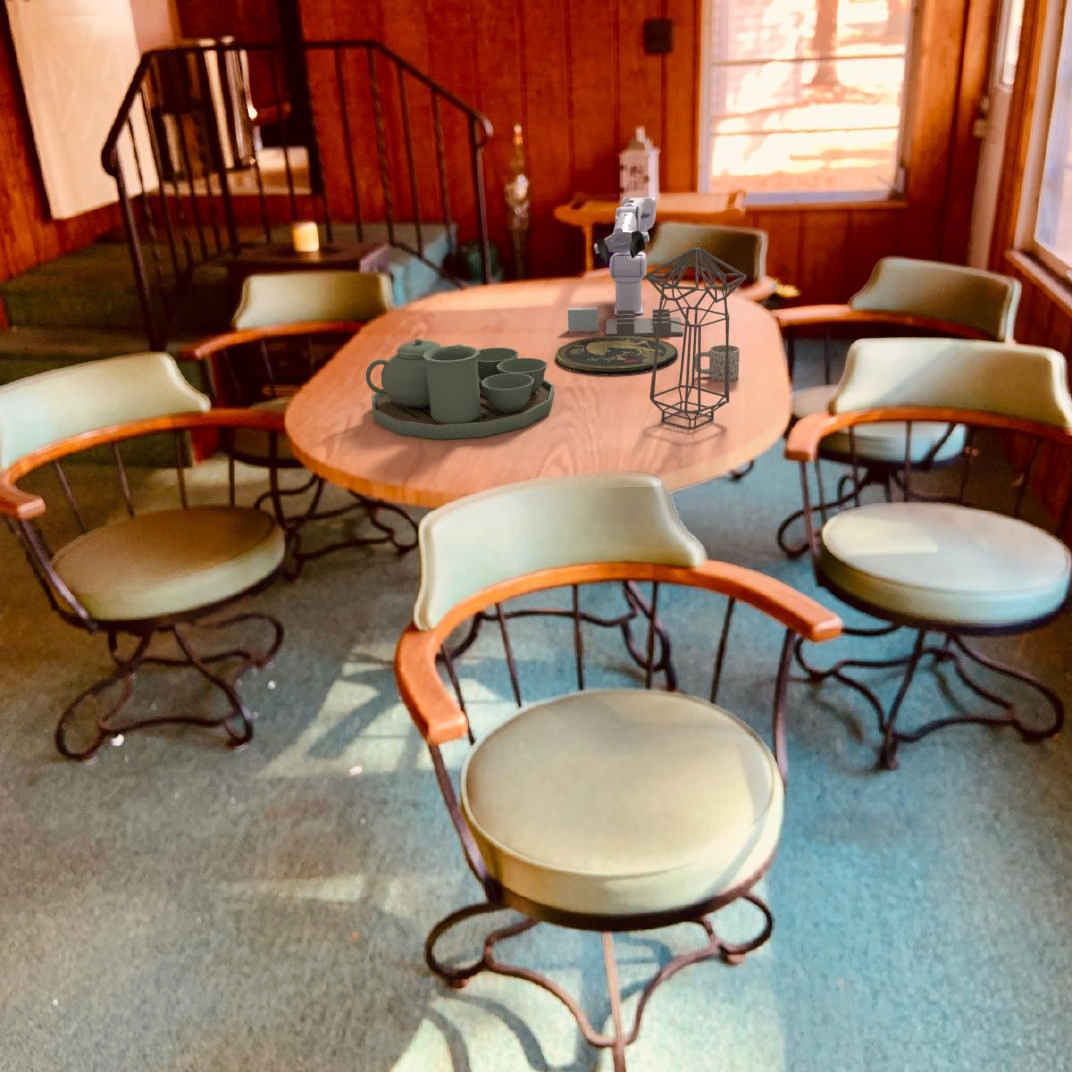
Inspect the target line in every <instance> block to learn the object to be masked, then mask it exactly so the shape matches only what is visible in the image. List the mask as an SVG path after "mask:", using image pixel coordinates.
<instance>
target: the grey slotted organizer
mask: <svg viewBox="0 0 1072 1072" xmlns="http://www.w3.org/2000/svg"><path fill="white" fill-rule="evenodd" d="M658 311H659V308H654V309H652V317H636V318H635V314H634V310H617V315H616V316H617V318H607V319H606V321H605V335H604V336H639V337H644V336H652V337H656V333H657V320H658V319H657V317H658ZM661 311H662V308H661ZM668 311H670V308H664V310H663V312H662V313H665V312H668ZM662 318H664V319H668V320H672V321H676V322H679V323H682V319H681V317H680V316H678V317H677V316H674V317H673V316H671V313H668V314H665V315H662ZM675 335H679V337H680V336H681V335H683V336H684V329H683V325H680V324H676V323H672V322H668V321H664V320H661V328H660V337H676V336H675Z"/></svg>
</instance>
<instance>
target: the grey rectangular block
mask: <svg viewBox="0 0 1072 1072" xmlns="http://www.w3.org/2000/svg"><path fill="white" fill-rule="evenodd" d="M567 320H568V321H567V323H568V325H567V326H568V327H567V328H568V329H567V330H568V331H569V332H568V331H567V332H568V333H572V332H571V331H597V332H599V331H598V330H600V328H599V327H600V326H599V325H600V324H599V323H600V322H599V307H568V308H567Z"/></svg>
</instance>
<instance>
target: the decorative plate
mask: <svg viewBox="0 0 1072 1072" xmlns="http://www.w3.org/2000/svg"><path fill="white" fill-rule="evenodd" d="M655 346H656V338H653V337H639V336H605V335H604V336H595V337H590V338H589V337H588V338H584V339H579V340H575V341H572V342H569V343H567V344H565V345H562V346H561V347H560V348H558V350H557V351H556V353H555V362H556V361H557V362H556V363H557V364H558V365H559V366H560V367H562V368H564V369H567V370H569V369H571V370H570V371H572V370H575V371H574V372H576V371H579V372H578V373H581V372H583V373H582V374H588V373H589V375H590V374H591V375H599V374H608V375H607V376H614V375H613V374H626V375H632V374H631V373H636V374H643V373H647V372H646V371H649V372H652V371H651V370H653V365H654V356H655ZM678 357H679V352H678V349H677V347H676V346H674V345H673V344H672V343H670V342H668V341H665V340H662V339H659V345H658V355H657V368H656V369H657V370H660V368H661V369H663V368H666V367H668V366H670V365H671V363H672V364H673V363H674V362H676V360H677V359H678ZM669 364H670V365H669ZM665 366H666V367H665ZM642 372H643V373H642ZM611 374H612V375H611Z"/></svg>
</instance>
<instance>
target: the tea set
mask: <svg viewBox="0 0 1072 1072" xmlns="http://www.w3.org/2000/svg"><path fill="white" fill-rule="evenodd" d="M519 354H520V353H519V351H517V350H516V349H514V348H510V347H509V348H508V347H488V348H481V349H478V348H476V347H473V346H469V345H464V344H461V343H459V344H453V345H445V346H442V345H441V344H440V343H438V342H435V341H433V340H422V339H421V338H416V339H415V340H413V341H408V342H406V343H402V344H401V345H400V346H398V349H397V350H396V354H394V355H393V356H391V357H390V359H388V360H387V359H383V358H380V359H375V360H373V361H372V362H371V363H370V364H369V365H368V367H367V368H366V372H365V380H366V384H367V385H368V387H369V389H371V390H372V391H373V392H374V394H372V395H371V405H372V407H371V408H372V417H373V420H374V422H375V423H376V424H378V425H379V426H381V427H383V428H386V430H387V429H388V430H389V431H391V432H393V433H395V434H398V435H401V436H409V437H415V438H416V437H417V438H424V439H432V440H454V439H456V440H457V439H471V438H472V439H473V438H485V437H490V436H495V435H498V434H501V433H506V432H507V433H508V432H511V431H514V430H518V429H523V428H526V427H528V426H530V425H532V424H533V423H534V422H536V421H538V420H540V419H542V418H543V417H545V416H547V415H548V414H550V412H551V409H552V406H553V402H554V397H555V385H553V383H551V382H549V381H548V380H546V379H545V373H546V370H547V366H548V362H546V361H545V360H543V359H540V358H535V357H534V358H533V357H519ZM518 357H519V358H518ZM379 365H383V367H382V370H381V372H380V380H381V381H380V382H381V387H382V388H380V387H377V386H375V384H374V382H373V381H372V380H371V379H372V378H371V375H372V370H373V369H374V368H375V367H377V366H379Z"/></svg>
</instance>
